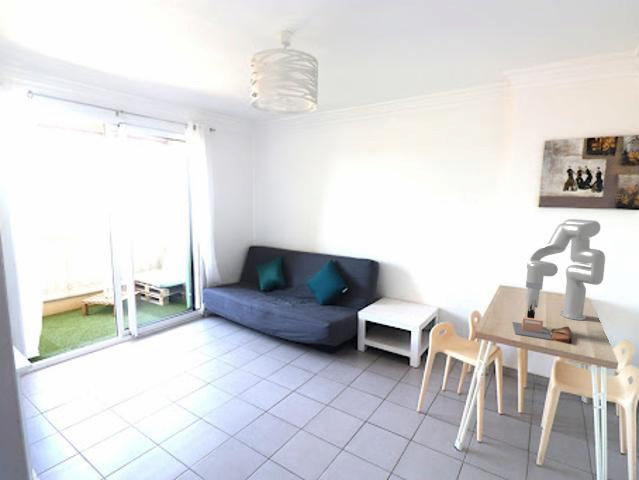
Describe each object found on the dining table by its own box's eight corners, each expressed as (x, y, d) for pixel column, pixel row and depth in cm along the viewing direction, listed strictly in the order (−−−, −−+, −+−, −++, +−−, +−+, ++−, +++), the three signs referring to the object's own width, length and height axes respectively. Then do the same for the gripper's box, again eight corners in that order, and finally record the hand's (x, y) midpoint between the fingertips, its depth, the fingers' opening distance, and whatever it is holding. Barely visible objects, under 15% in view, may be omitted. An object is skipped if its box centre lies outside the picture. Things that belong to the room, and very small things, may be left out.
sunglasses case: (550, 328, 182) (559, 320, 180) (563, 337, 179) (572, 329, 177) (550, 340, 167) (560, 330, 165) (564, 350, 165) (574, 340, 162)
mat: (512, 322, 190) (512, 321, 190) (545, 328, 183) (545, 327, 183) (515, 334, 174) (515, 333, 174) (552, 340, 167) (552, 339, 167)
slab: (521, 328, 180) (522, 317, 179) (541, 331, 176) (542, 319, 176) (521, 329, 179) (523, 318, 178) (541, 332, 175) (543, 321, 174)
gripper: (524, 281, 189) (521, 312, 191) (527, 287, 175) (524, 321, 178) (540, 283, 186) (536, 315, 188) (544, 289, 172) (540, 323, 175)
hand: (530, 317), depth 183 cm, fingers closed
